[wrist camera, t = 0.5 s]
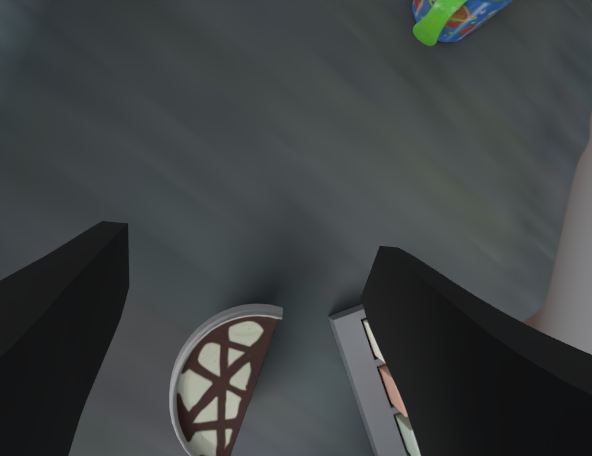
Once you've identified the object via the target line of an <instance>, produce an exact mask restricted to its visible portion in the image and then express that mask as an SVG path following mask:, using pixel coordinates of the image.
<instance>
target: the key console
mask: <svg viewBox="0 0 592 456" xmlns="http://www.w3.org/2000/svg"><path fill="white" fill-rule="evenodd" d="M363 318H366V315H365V311H364V307H363V304H360V305H358V306H355V307H352V308H349V309H347V310H344V311H341V312H339V313H336V314H333V315H330V316H328V319H329V321H330V324H331V327H332V330H333V333H334V336H335V339H336V342H337V345H338V348H339V351H340V354H341V357H342V360H343V363H344V366H345V369H346V372H347V375H348V378H349V381H350V384H351V387H352V390H353V393H354V396H355V399H356V402H357V405H358V408H359V411H360V414H361V417H362V420H363V423H364V426H365V429H366V432H367V435H368V438H369V441H370V444H371V447H372V450H373V453H374V456H411V454H410V453H409V452H408V451H407V449H406V447H405V444H404V441H402V440H401V437H400V434H399V431H398V428H397V425H396V422H395V419H394V416H393V415H394V414H396V413H399V412H400V411H399V410H398V409H397V408H396V407H395V406H394V405H393V404H392V403H391V402H390V400H389V397H388V396H386V393H385V390H384V387H383V384H382V381H381V378H380V375H379V372H378V369H377V366H380V365H383V364H385V363H384V362H383V361H382V360H381V359H379V358H378V357H377V356H375V355H374V353H373V351H372V352H371V349H370V346H369V343H368V340H367V337H366V334H365V331H364V328H363V325H362V322H361V319H363Z"/></svg>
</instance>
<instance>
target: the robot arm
mask: <svg viewBox="0 0 592 456" xmlns="http://www.w3.org/2000/svg"><path fill="white" fill-rule="evenodd" d="M128 289H129V251H128V223H116V222H105V221H102V222H100V223H98V224H96V225H95V226H93V227H91V228H90V229H88V230H87V231H85V232H83V233H82V234H80V235H79V236H77V237H75V238H74V239H72V240H71V241H69V242H67V243H66V244H64V245H62V246H61V247H59V248H58V249H56V250H54V251H53V252H51V253H49V254H48V255H46V256H44V257H43V258H41V259H39V260H37V261H35V262H34V263H32V264H30V265H28V266H26V267H24V268H23V269H21V270H19V271H17V272H15V273H13V274H12V275H10V276H8V277H6V278H4V279H2V280H1V281H0V456H68V454H69V451H70V448H71V445H72V442H73V438H74V435H75V432H76V429H77V425H78V422H79V419H80V416H81V413H82V411H83V408H84V405H85V403H86V400H87V397H88V395H89V393H90V390H91V388H92V386H93V383H94V381H95V379H96V376H97V374H98V371H99V369H100V367H101V364H102V362H103V360H104V357H105V355H106V353H107V350H108V348H109V345H110V343H111V341H112V338H113V336H114V333H115V331H116V329H117V326H118V324H119V321H120V319H121V315H122V311H123V308H124V304H125V301H126V297H127V293H128ZM361 300H362V304H363V307H364V311H365V315H366V318H367V321H368V324H369V327H370V330H371V332H372V334H373V336H374V339H375V341H376V343H377V345H378V348H379V350H380V352H381V354H382V357H383V359H384V361H385V363H386V365H387V367H388V370H389V372H390V374H391V376H392V378H393V381H394V383H395V385H396V387H397V389H398V392H399V394H400V396H401V399H402V401H403V404H404V406H405V409H406V412H407V415H408V418H409V421H410V424H411V427H412V430H413V433H414V436H415V439H416V442H417V445H418V448H419V451H420V455H421V456H592V355H591V354H589V353H586V352H584V351H581V350H579V349H577V348H575V347H572V346H570V345H568V344H565V343H564V342H561V341H559V340H556V339H555V338H552V337H550V336H548V335H546V334H544V333H542V332H540V331H538V330H536V329H534V328H532V327H530V326H528V325H526V324H524V323H522V322H520V321H518V320H516V319H515V318H513V317H511V316H509V315H507V314H505V313H503V312H502V311H500V310H498V309H496V308H495V307H493V306H491V305H490V304H488V303H486V302H484V301H483V300H481V299H479V298H478V297H476V296H474V295H473V294H471V293H470V292H468V291H467V290H465V289H463V288H462V287H460V286H459V285H457V284H456V283H454V282H452V281H451V280H449V279H448V278H446V277H445V276H443V275H442V274H440V273H439V272H437V271H436V270H434V269H433V268H431V267H430V266H428V265H427V264H425V263H424V262H422V261H420V260H419V259H417V258H416V257H414V256H412V255H411V254H409V253H407V252H405V251H404V250H402V249H400V248H397V247H386V246H380V247H379V250H378V252H377V255H376V258H375V261H374V263H373V266H372V269H371V271H370V274H369V277H368V280H367V282H366V285H365V288H364V290H363V293H362V296H361Z"/></svg>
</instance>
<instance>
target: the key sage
mask: <svg viewBox="0 0 592 456" xmlns="http://www.w3.org/2000/svg"><path fill="white" fill-rule="evenodd" d="M394 415H395V418H396V421H397V424H398V427H399V429H400V432H401V435H402V438H403V441H404V444H405V447H406V449H407V451H408V452H409V453H410V454H411V456H421V455H420V451H419V448H418V445H417V442H416V439H415V436H414V433H413V430H412V427H411V424H410V421H409V418H408V416H407V417H405V416H404V415H403V414H402V413H401V412H399V413H396V414H394Z"/></svg>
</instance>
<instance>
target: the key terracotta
mask: <svg viewBox="0 0 592 456" xmlns="http://www.w3.org/2000/svg"><path fill="white" fill-rule="evenodd" d="M378 368H379V371H380V374H381V377H382V380H383V382H384V385H385V388H386V391H387V394H388V397H389V400H390V402H391V403H392V404H393V405H394V406H395V407H396V408H397V409H398V410H399V411H400V412H401V413H402V414H403V415H404V416H405V417H407V416H408V415H407V412H406V409H405V406H404V404H403V401H402V399H401V396H400V394H399V392H398V389H397V387H396V385H395V383H394V381H393V378H392V376H391V374H390V372H389V370H388V367H387V365H386V364H383V365H381V366H378Z"/></svg>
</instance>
